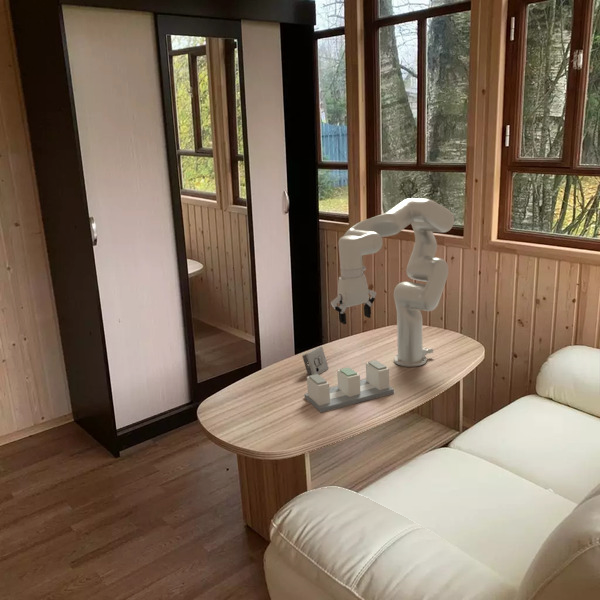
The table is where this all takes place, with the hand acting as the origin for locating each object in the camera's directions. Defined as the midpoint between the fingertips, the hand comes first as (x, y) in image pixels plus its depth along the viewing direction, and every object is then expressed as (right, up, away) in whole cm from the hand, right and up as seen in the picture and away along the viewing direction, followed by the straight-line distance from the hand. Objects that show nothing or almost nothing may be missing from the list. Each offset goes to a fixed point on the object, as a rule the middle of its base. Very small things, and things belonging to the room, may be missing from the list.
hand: (355, 320), depth 209 cm
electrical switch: (-13, -21, +22) cm, 33 cm away
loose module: (-2, -25, 0) cm, 25 cm away
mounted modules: (-2, -25, 0) cm, 25 cm away
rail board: (-2, -26, 0) cm, 26 cm away
